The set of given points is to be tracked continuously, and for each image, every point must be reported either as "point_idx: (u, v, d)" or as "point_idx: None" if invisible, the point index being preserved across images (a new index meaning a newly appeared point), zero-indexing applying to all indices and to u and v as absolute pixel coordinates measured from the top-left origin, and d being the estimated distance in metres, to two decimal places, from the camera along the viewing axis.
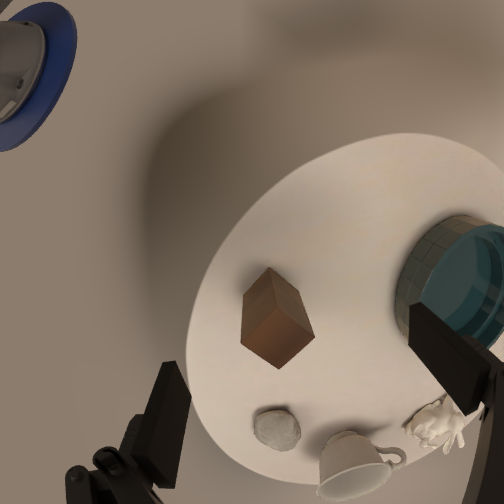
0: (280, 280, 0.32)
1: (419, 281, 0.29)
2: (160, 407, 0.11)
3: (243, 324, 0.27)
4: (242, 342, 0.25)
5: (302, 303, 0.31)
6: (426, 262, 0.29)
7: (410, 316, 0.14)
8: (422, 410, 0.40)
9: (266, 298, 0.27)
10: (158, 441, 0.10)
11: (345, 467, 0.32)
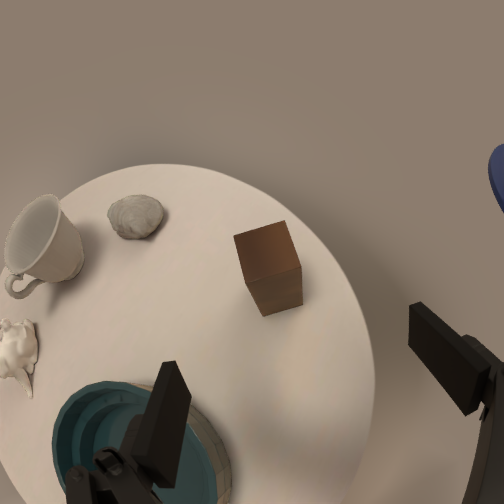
0: (289, 303, 0.30)
1: (198, 429, 0.23)
2: (160, 407, 0.11)
3: None
4: (284, 222, 0.25)
5: (259, 307, 0.29)
6: (212, 448, 0.23)
7: (410, 316, 0.14)
8: (35, 351, 0.34)
9: None
10: (158, 441, 0.10)
11: (56, 235, 0.31)
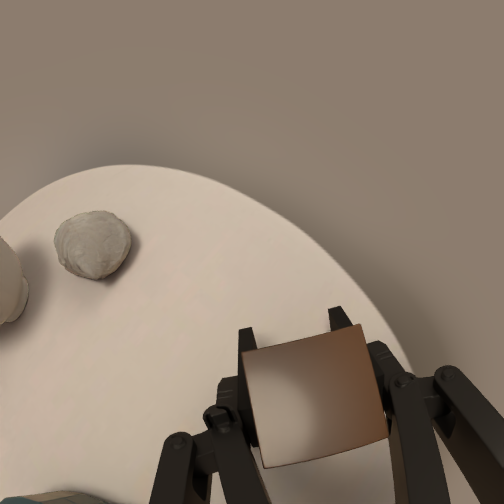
0: None
1: None
2: None
3: None
4: (359, 328, 0.10)
5: None
6: None
7: (330, 319, 0.17)
8: None
9: None
10: None
11: None
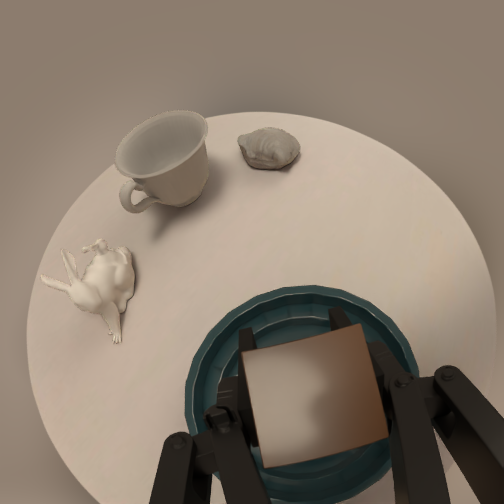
0: None
1: None
2: None
3: None
4: (359, 328, 0.10)
5: None
6: None
7: (330, 319, 0.17)
8: (132, 284, 0.35)
9: None
10: None
11: (202, 144, 0.32)
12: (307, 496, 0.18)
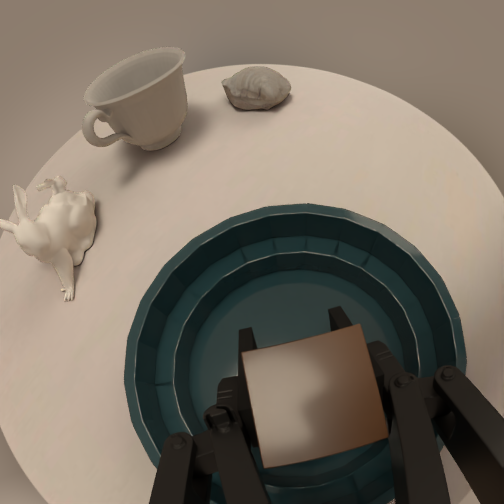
0: None
1: None
2: None
3: None
4: (359, 328, 0.10)
5: None
6: None
7: (330, 319, 0.17)
8: (92, 231, 0.28)
9: None
10: None
11: (178, 71, 0.26)
12: None
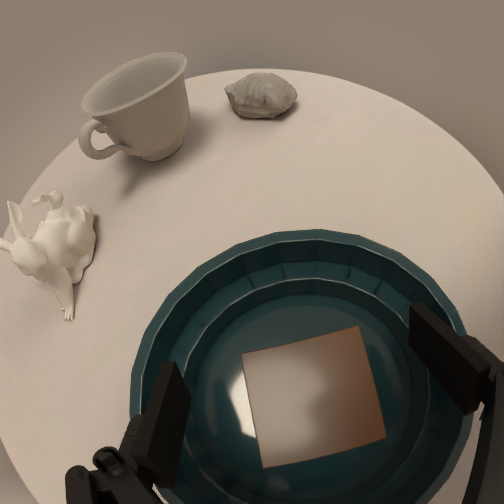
0: None
1: None
2: (160, 407, 0.11)
3: None
4: (357, 329, 0.10)
5: None
6: None
7: (410, 316, 0.14)
8: (91, 248, 0.27)
9: None
10: (158, 441, 0.10)
11: (179, 79, 0.25)
12: None
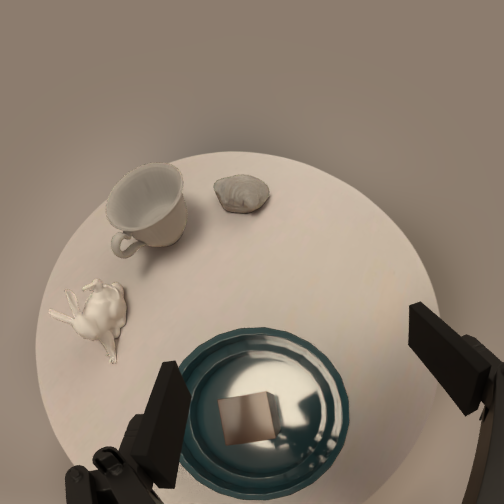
0: None
1: None
2: (160, 407, 0.11)
3: (269, 395, 0.27)
4: (265, 393, 0.24)
5: None
6: None
7: (410, 316, 0.14)
8: (124, 314, 0.41)
9: (276, 425, 0.26)
10: (158, 441, 0.10)
11: (179, 199, 0.39)
12: (257, 490, 0.24)
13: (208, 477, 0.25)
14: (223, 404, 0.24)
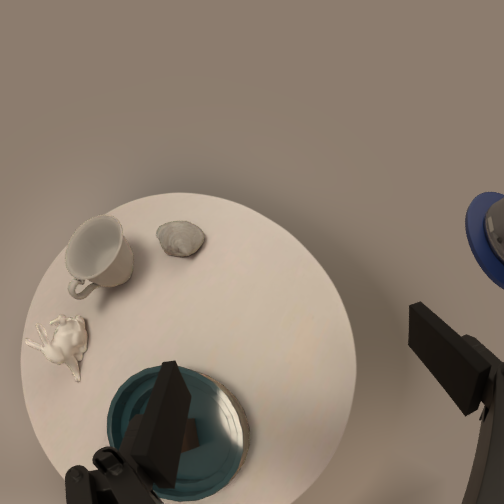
0: None
1: (232, 400, 0.35)
2: (160, 407, 0.11)
3: None
4: None
5: None
6: (240, 414, 0.34)
7: (410, 316, 0.14)
8: (85, 342, 0.46)
9: (182, 445, 0.30)
10: (158, 441, 0.10)
11: (119, 251, 0.43)
12: (174, 493, 0.29)
13: None
14: None
